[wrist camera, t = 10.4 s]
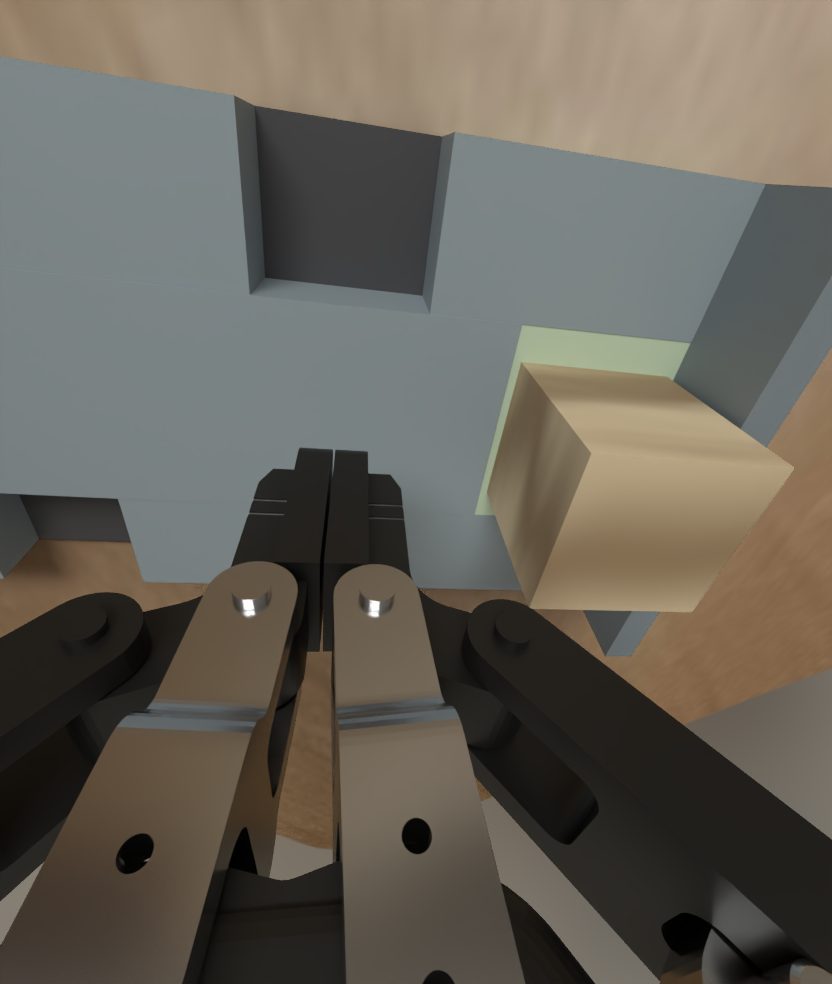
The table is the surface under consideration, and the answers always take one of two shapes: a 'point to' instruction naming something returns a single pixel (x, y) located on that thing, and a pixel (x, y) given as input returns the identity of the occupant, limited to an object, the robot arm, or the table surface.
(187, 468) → the plate
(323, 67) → the table surface
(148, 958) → the robot arm
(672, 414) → the beech block
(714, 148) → the table surface
